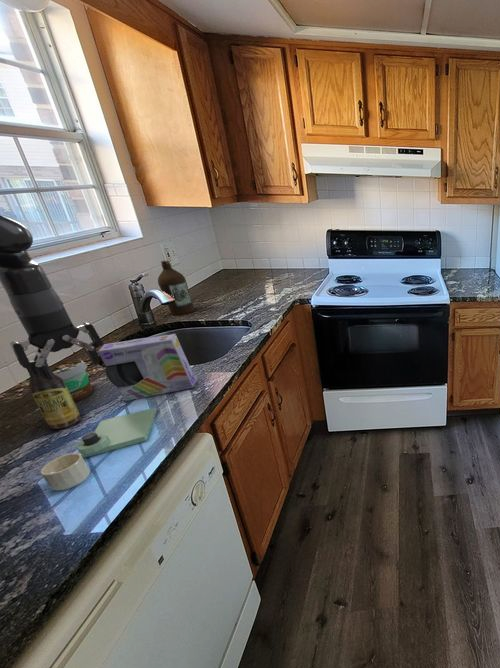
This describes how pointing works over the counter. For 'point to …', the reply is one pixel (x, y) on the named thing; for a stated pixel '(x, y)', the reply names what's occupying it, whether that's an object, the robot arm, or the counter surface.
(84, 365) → the food container
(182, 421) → the counter surface
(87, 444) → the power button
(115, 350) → the cake pan box
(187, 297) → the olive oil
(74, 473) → the bowl
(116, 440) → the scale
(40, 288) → the robot arm
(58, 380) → the sauce bottle
